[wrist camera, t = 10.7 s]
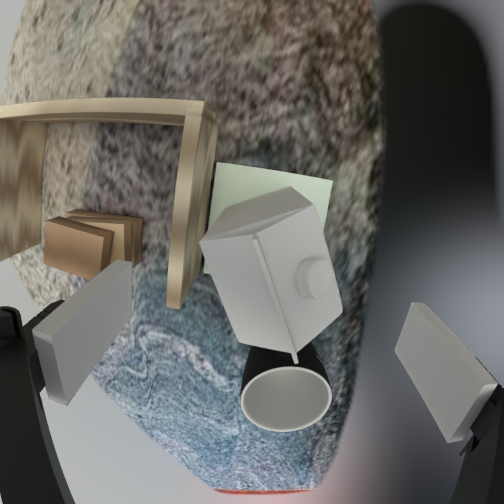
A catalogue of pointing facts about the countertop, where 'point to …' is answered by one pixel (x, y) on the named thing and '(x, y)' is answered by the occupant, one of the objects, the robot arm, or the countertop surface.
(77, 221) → the offcut stack
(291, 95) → the countertop surface
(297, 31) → the countertop surface
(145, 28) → the countertop surface
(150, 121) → the frame
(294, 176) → the mat
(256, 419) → the mug
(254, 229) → the milk carton
